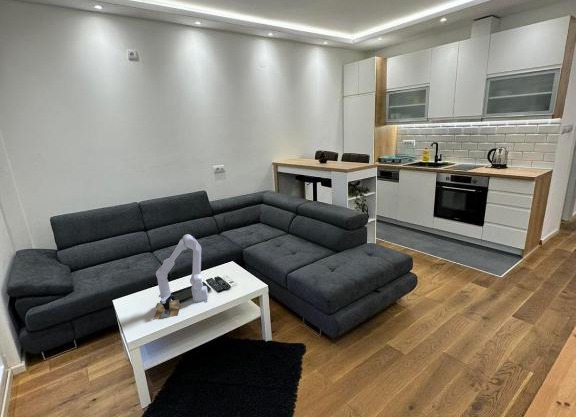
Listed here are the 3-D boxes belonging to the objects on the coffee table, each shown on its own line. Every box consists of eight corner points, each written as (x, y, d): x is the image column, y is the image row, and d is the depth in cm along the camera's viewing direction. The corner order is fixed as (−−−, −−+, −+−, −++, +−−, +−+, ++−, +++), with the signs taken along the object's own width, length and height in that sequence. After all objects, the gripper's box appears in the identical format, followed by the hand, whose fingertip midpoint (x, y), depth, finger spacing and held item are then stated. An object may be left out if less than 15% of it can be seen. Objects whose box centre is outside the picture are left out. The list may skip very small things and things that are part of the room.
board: (180, 306, 191) (180, 305, 191) (177, 316, 181) (177, 315, 181) (157, 310, 189) (157, 309, 189) (153, 320, 179) (152, 319, 178)
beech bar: (179, 305, 191) (178, 299, 190) (178, 308, 188) (177, 303, 187) (158, 308, 190) (157, 303, 189) (156, 312, 186) (155, 306, 185)
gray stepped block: (171, 313, 184) (170, 309, 183) (169, 316, 180) (169, 313, 179) (162, 314, 183) (161, 311, 182) (160, 318, 179) (160, 314, 179)
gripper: (160, 283, 191) (164, 302, 195) (154, 295, 177) (158, 315, 181) (171, 281, 192) (175, 300, 196) (167, 293, 178) (171, 313, 182)
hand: (168, 307), depth 188 cm, fingers closed on beech bar, 4 cm apart
